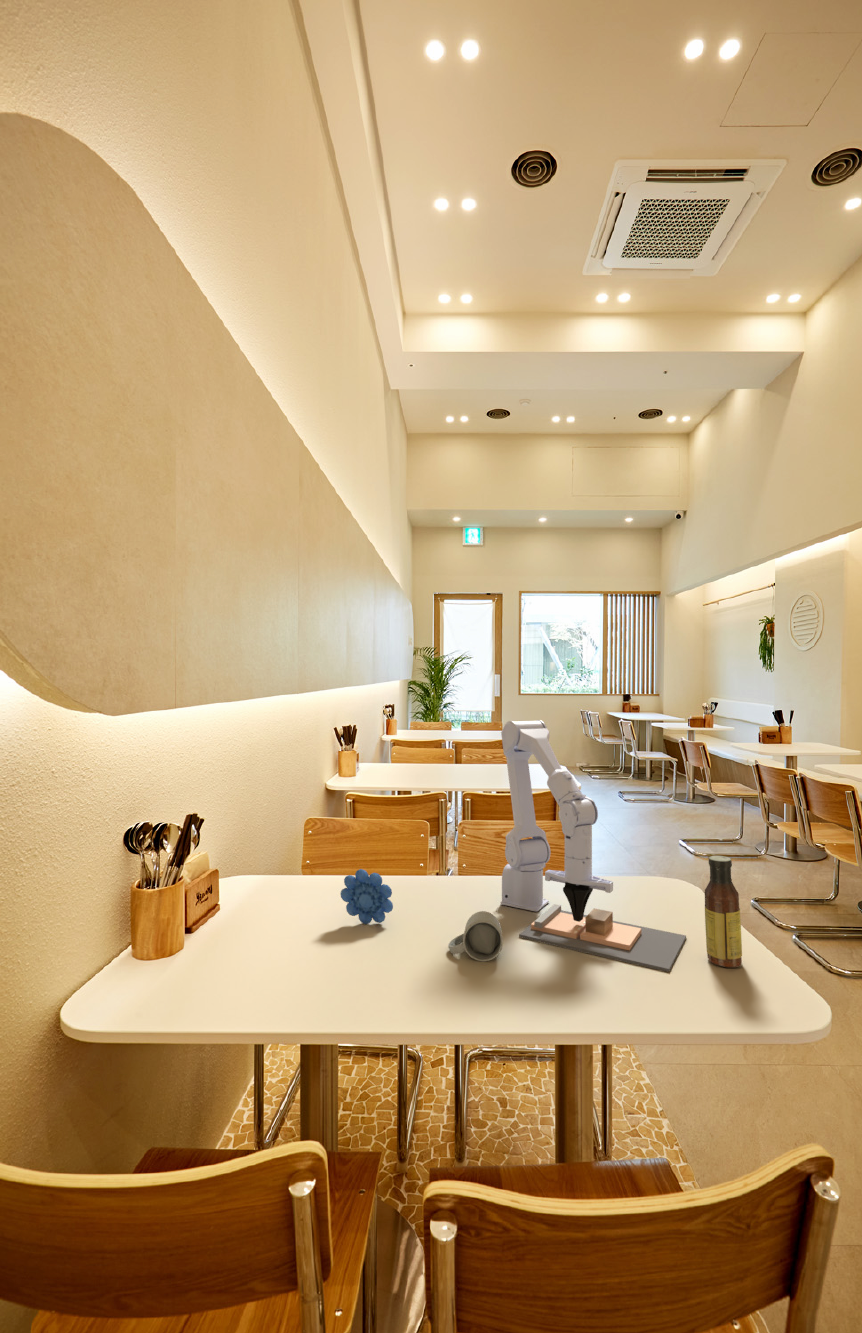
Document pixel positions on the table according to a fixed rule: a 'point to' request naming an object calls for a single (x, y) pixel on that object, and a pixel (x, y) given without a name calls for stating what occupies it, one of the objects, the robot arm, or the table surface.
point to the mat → (646, 951)
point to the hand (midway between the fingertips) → (578, 919)
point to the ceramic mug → (479, 937)
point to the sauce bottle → (722, 915)
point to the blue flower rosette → (367, 896)
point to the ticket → (559, 923)
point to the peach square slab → (608, 930)
